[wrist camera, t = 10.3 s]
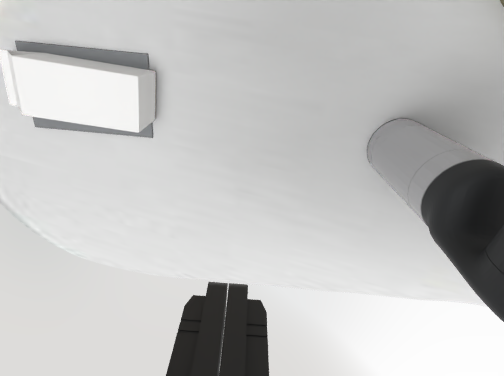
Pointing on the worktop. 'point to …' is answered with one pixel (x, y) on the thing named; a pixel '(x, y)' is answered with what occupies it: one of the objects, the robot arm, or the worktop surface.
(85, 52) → the mat
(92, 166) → the worktop surface
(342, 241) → the worktop surface
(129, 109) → the milk carton
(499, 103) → the worktop surface
